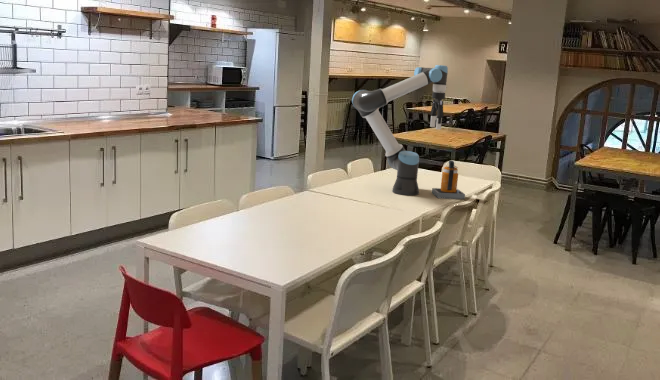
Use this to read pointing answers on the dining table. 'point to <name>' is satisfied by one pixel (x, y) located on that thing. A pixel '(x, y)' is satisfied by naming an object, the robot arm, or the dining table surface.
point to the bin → (448, 194)
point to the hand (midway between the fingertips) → (435, 128)
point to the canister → (449, 179)
